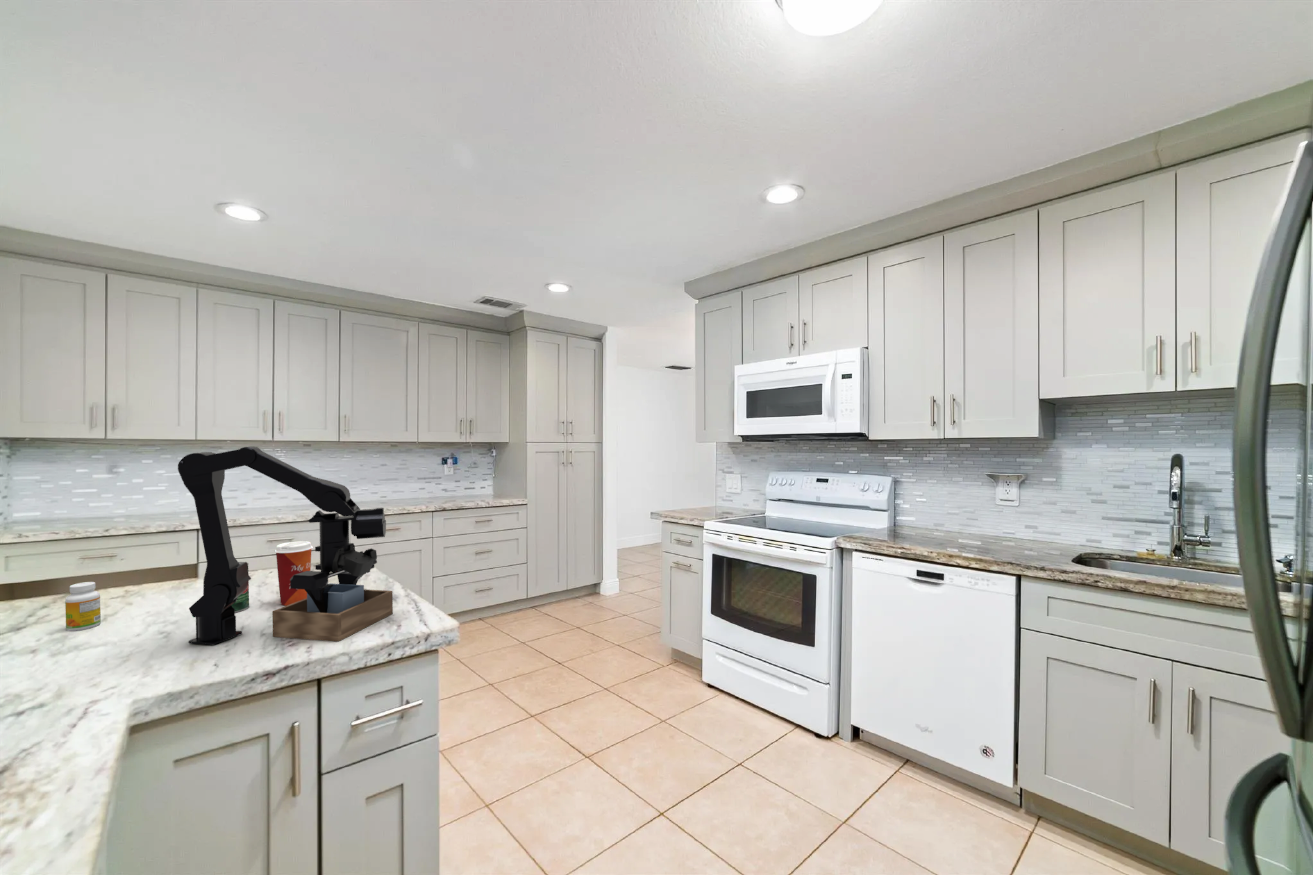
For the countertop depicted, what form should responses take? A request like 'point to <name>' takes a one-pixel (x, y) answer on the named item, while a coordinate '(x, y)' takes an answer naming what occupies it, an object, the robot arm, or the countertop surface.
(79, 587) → the supplement bottle
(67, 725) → the countertop surface
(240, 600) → the canned tomato
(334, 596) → the small crate
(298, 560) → the coffee cup
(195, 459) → the robot arm
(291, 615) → the big crate
